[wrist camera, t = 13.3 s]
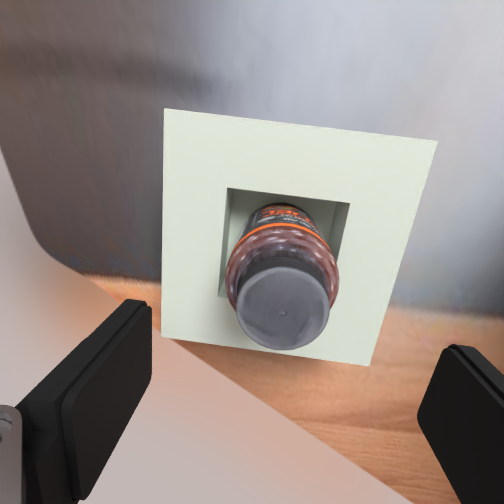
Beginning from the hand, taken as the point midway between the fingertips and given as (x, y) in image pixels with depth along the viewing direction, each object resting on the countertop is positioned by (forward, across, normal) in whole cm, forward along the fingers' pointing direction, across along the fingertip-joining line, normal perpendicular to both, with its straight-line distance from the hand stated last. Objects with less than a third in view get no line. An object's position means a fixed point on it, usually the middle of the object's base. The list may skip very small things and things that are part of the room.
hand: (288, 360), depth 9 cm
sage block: (+18, 0, 0) cm, 18 cm away
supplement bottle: (+14, 0, 0) cm, 14 cm away
